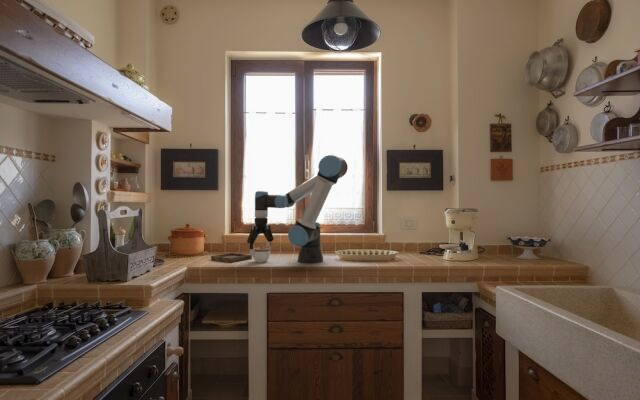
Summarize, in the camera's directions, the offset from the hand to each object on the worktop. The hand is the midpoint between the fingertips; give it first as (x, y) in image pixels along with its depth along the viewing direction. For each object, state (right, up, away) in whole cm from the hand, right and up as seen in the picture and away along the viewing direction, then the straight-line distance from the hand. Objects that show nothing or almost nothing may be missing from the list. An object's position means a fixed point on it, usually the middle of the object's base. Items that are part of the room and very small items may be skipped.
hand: (260, 253), depth 230 cm
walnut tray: (-19, -5, +7) cm, 21 cm away
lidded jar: (0, -5, 0) cm, 5 cm away
